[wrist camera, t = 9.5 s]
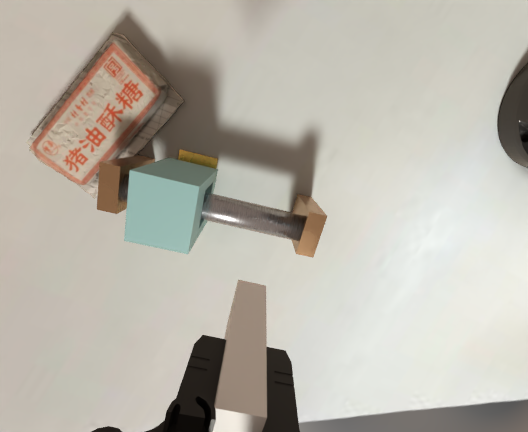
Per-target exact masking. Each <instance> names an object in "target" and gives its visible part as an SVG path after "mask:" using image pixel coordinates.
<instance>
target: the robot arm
mask: <svg viewBox="0 0 528 432" xmlns="http://www.w3.org/2000/svg"><path fill="white" fill-rule="evenodd" d="M498 132H499V138H500V141H501V144H502V147H503V149H504V150H505V152H506V153H507V155H508V156H509V157H510V158H511V159H512V160H513V161H515V162H516V163H518V164H520V165H522V166H525V167H528V64H527V65H526V66H525V67H524V68H523V69H522V70H521V71H520V72H519V74H518V75H517V76H516V78H515V79H514V80H513V82H512V84H511V85H510V87H509V89H508V91H507V92H506V95H505V97H504V99H503V102H502V105H501V109H500V113H499V120H498ZM292 375H293V373H292V364H291V361H290V359H289V357H288V355H287V353H286V351H284V350H279V349H274V348H269V347H266V286H265V285H260V284H255V283H251V282H246V281H242V280H238V283H237V287H236V291H235V295H234V299H233V303H232V307H231V311H230V315H229V319H228V324H227V329H226V334H225V339H220V338H215V337H210V336H205V335H202V336H201V338H200V339H199V340H198V341H197V342H196V343H195V344H194V347H193V350H192V353H191V356H190V359H189V362H188V365H187V368H186V371H185V374H184V377H183V380H182V383H181V386H180V389H179V392H178V395H177V398H176V399H175V400H174V401H172V403H171V404H170V406H169V408H168V410H167V412H166V417H165V421H163V422H162V423H161V424H160V425H159V426H157V427H155V428H154V429H152V430H149V431H146V432H300V431H299V425H298V416H297V407H296V399H295V390H294V382H293V377H292ZM92 432H122V431H121V430H120V429H119V428H114V427H109V426H108V427H103V428H98V429H96V430H94V431H92Z"/></svg>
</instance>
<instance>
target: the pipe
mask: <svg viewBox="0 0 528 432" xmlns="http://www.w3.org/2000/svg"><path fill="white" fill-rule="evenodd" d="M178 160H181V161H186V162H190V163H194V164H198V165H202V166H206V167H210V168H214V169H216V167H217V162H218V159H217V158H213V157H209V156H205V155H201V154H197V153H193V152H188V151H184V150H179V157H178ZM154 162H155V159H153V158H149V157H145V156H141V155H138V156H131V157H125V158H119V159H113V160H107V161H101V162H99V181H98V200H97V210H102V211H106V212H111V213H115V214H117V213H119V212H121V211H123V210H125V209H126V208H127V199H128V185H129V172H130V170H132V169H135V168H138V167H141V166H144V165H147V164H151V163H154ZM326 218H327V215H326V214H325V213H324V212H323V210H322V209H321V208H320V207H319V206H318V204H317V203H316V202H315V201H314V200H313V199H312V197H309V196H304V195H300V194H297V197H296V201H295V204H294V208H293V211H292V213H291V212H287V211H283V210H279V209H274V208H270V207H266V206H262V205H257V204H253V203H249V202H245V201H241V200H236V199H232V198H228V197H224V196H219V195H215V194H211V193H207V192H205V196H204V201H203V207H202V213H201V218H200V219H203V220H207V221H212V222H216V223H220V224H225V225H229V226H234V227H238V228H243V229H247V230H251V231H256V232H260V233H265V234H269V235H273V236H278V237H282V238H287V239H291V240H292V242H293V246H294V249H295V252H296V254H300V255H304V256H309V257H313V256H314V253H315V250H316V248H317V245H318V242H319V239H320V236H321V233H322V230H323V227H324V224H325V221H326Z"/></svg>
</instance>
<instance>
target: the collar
mask: <svg viewBox="0 0 528 432" xmlns="http://www.w3.org/2000/svg"><path fill="white" fill-rule="evenodd" d="M217 171H218V169H214V168H210V167H206V166H202V165H198V164H194V163H190V162H186V161H181V160H177V159H173V158H166V159H163V160H160V161H157V162H154V163H151V164H147V165H144V166H141V167H138V168H135V169H132V170H130V172H129V185H128V199H127V212H126V225H125V238H124V241H128V242H133V243H137V244H142V245H147V246H151V247H156V248H161V249H166V250H170V251H175V252H180V253H184V254H188V253H189V252H190V250H191V248H192V247H193V245H194V243H195V241H196V240H197V238H198V236H199V235H200V233H201V231H202V229H203V228H204V226H205V224H206V223H207V220H203V219H200V218H201V213H202V207H203V201H204V196H205V192H207V193H211V194H213V192H214V187H215V182H216V176H217Z"/></svg>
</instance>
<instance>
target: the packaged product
mask: <svg viewBox="0 0 528 432" xmlns="http://www.w3.org/2000/svg"><path fill="white" fill-rule="evenodd" d="M183 102H184V100H183V99H182V97H181V96H180V95H179V94H178V93H177V92H176V91H175V90H174V88H173V87H172V86H171V85H170V84H169V83H168V82H167V81H166V80H165V78H164V77H163V76H162V75H161V74H160V73H159V72H158V71H157V70H156V69H155V68H154V67H153V66H152V65H151V64H150V63H149V62H148V61H147V60H146V59H145V58H144V57H143V56H142V55H141V54H140V53H139V52H138V51H137V49H136V48H135V47H134V46H133V45H132V44H131V43H130V42H129V40H128V39H127V38H126V37H125V36H124V35H122V34H118V33H113V32H112V34H111V37H110V39H109V40H107V41H106V42H105V44H104V46H103V47H102V48H101V49H100V50H99V51H98V53H97V54H96V55H95V57H94V58H93V59H92V60H91V62H90V63H89V64H88V66H87V67H86V68H85V69H84V70H83V72H82V73H81V74H80V76H79V77H78V78H77V80H75V81H74V83H73V84H72V85H71V87H70V89H69V90H68V91H67V92H66V93H65V94H64V96H63V97H62V98H61V100H60V101H59V102H58V103H57V104H56V106H55V108H54V109H53V110H52V111H51V112H50V113H49V114H48V116H47V117H46V118H45V119H44V121H43V122H42V123H41V124H40V126H39V127H38V128H37V130H36V131H35V132H34V134H33V135H32V136H31V137H30V139H29V140H28V141H27V142H26V143H27V144H28V145H29V146H30V147H29V148H30V150H29V151H31V152H32V153H33V154H34V155H35V156H36V157H37V158H38V160H39V161H40V162H42V163H44V164H45V165H47V166H49V167H51V168H53V169H54V170H56V171H57V172H59V173H61V174H63V175H64V176H66V177H67V179H69V180H71V181H73V182H75V183H76V184H77V185H78V186H79V187H81V188H82V189H83V190H84V191H85V192H87V193H90V195H91V196H92V197H93V198H96V197H97V196H98V181H99V162H101V161H107V160H113V159H119V158H125V157H131V156H135V155H136V154H137V153H138V152H139V151H140V150H141V149H142V148H143V147H144V146H145V145H146V144H147V143H148V142H149V141H150V140H151V138H152V137H153V136H154V134H155V133H156V132H157V131H158V130H159V129H160V128H161V127H162V126H163V125H164V124H165V123H166V122H167V121H168V120H169V119H170V117H171V116H172V115H173V114H174V113H175V111H176V110H177V109H178V108H179V106H180V105H181V104H182V103H183Z"/></svg>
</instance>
